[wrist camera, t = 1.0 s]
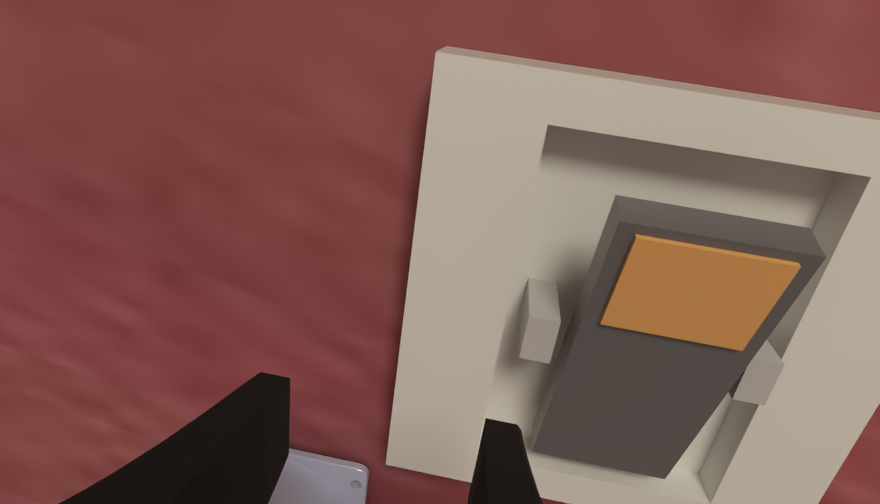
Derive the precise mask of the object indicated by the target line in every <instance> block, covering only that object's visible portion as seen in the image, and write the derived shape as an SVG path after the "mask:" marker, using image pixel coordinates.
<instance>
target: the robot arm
mask: <svg viewBox="0 0 880 504" xmlns="http://www.w3.org/2000/svg"><path fill="white" fill-rule="evenodd" d="M289 413H290V378H287V377H282V376H277V375H272V374H267V373H262V372H260V373H259V374H257V375H256V376H254V377H253V378H251V379H250V380H249V381H247V382H246V383H244V384H243V385H242V386H240V387H239V388H238V389H236V390H235V391H233V392H232V393H231V394H229V395H228V396H227V397H225V398H224V399H223V400H221V401H220V402H218V403H217V404H216V405H214V406H213V407H211V408H210V409H209V410H207V411H206V412H205V413H203V414H202V415H200V416H199V417H197V418H196V419H195V420H193V421H192V422H190V423H189V424H187V425H186V426H184V427H183V428H182V429H180V430H179V431H177V432H176V433H174V434H173V435H171V436H170V437H169V438H167V439H166V440H164V441H163V442H161V443H160V444H158V445H157V446H155V447H153V448H152V449H150V450H149V451H147V452H146V453H144V454H142V455H141V456H139V457H138V458H136V459H135V460H133V461H131V462H130V463H128V464H127V465H125V466H124V467H122V468H120V469H119V470H117V471H116V472H114V473H112V474H111V475H109V476H107V477H106V478H104V479H102V480H100V481H99V482H97V483H95V484H94V485H92V486H90V487H88V488H87V489H85V490H83V491H81V492H80V493H78V494H76V495H74V496H72V497H70V498H69V499H67V500H65V501H63V502H61V503H59V504H366V499H367V490H368V480H369V470H368V468H367V467H366V466H364V465H363V464H360V463H356V462H351V461H346V460H342V459H337V458H332V457H328V456H323V455H318V454H314V453H309V452H304V451H300V450H295V449H290V448H289ZM357 481H358V482H357ZM468 504H543V503H542V501H541V498H540V495H539V492H538V489H537V486H536V483H535V480H534V477H533V473H532V470H531V467H530V464H529V460H528V457H527V453H526V449H525V445H524V441H523V436H522V430H521V429H520V428H519V426H518V425H517V424H512V423H508V422H503V421H498V420H493V419H488V418H486V419H485V423H484V428H483V432H482V437H481V442H480V446H479V451H478V455H477V460H476V464H475V469H474V474H473V478H472V483H471V487H470V492H469V498H468Z"/></svg>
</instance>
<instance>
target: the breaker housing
mask: <svg viewBox="0 0 880 504" xmlns="http://www.w3.org/2000/svg"><path fill="white" fill-rule="evenodd" d="M615 195H619V196H625V197H631V198H637V199H643V200H649V201H655V202H660V203H666V204H672V205H678V206H684V207H690V208H696V209H702V210H707V211H713V212H719V213H725V214H731V215H737V216H743V217H748V218H754V219H760V220H766V221H772V222H778V223H784V224H789V225H795V226H801V227H807V228H810V230H811V231H812V233H813V235H814V236H815V238H816V240H817V242H818V243H819V245H820V247H821V249H822V250H823V252H824V254H825V255H826V259H825V260H824V262H823V263H822V264H821V266H820V267H819V268H818V270H817V271H816V273H815V274H814V275H813V277H812V278H811V279H810V281H809V282H808V284H807V285H806V286H805V288H804V289H803V290H802V292H801V293H800V295H799V296H798V297H797V299H796V300H795V301H794V303H793V304H792V305H791V307H790V308H789V310H788V311H787V312H786V314H785V315H784V316H783V318H782V319H781V321H780V322H779V323H778V325H777V326H776V327H775V329H774V330H773V332H772V333H771V334H770V336H769V337H768V338H767V340H766V341H765V343H764V344H763V345H762V347H761V348H760V349H759V351H758V352H757V354H756V355H755V356H754V358H753V359H752V360H751V362H750V363H749V364H748V366H747V367H746V369H745V370H744V371H743V373H742V374H741V375H740V377H739V378H738V380H737V381H736V382H735V384H734V385H733V386H732V388H731V389H730V391H729V392H728V393H727V395H726V396H725V397H724V399H723V400H722V402H721V403H720V404H719V406H718V407H717V408H716V410H715V411H714V413H713V414H712V415H711V417H710V418H709V419H708V421H707V422H706V424H705V425H704V426H703V428H702V429H701V430H700V432H699V433H698V434H697V436H696V437H695V439H694V440H693V441H692V443H691V444H690V445H689V447H688V448H687V450H686V451H685V452H684V454H683V455H682V456H681V458H680V459H679V461H678V462H677V463H676V465H675V466H674V467H673V469H672V470H671V472H670V473H669V474H668V476H667V477H666V478H665V479H661V478H656V477H651V476H647V475H642V474H637V473H632V472H627V471H622V470H618V469H613V468H608V467H603V466H598V465H593V464H589V463H584V462H579V461H574V460H569V459H565V458H560V457H555V456H550V455H545V454H540V453H536V452H532V431H533V422H534V420H535V417H536V414H537V411H538V409H539V406H540V403H541V400H542V397H543V395H544V392H545V389H546V386H547V384H548V381H549V378H550V375H551V373H552V370H553V367H554V364H555V361H556V359H557V356H558V353H559V350H560V348H561V345H562V342H563V339H564V337H565V334H566V331H567V328H568V325H569V323H570V320H571V317H572V314H573V312H574V309H575V306H576V303H577V300H578V298H579V295H580V292H581V289H582V287H583V284H584V281H585V278H586V276H587V273H588V270H589V267H590V264H591V262H592V259H593V256H594V253H595V251H596V248H597V245H598V242H599V240H600V237H601V234H602V231H603V228H604V226H605V223H606V220H607V217H608V215H609V212H610V209H611V206H612V204H613V201H614V198H615ZM879 403H880V113H878V112H871V111H865V110H859V109H852V108H846V107H839V106H833V105H826V104H820V103H813V102H807V101H800V100H794V99H787V98H781V97H774V96H768V95H761V94H755V93H748V92H742V91H735V90H729V89H722V88H716V87H709V86H703V85H696V84H690V83H683V82H677V81H670V80H664V79H657V78H651V77H644V76H638V75H631V74H625V73H618V72H612V71H605V70H599V69H592V68H586V67H579V66H573V65H566V64H560V63H554V62H547V61H541V60H534V59H528V58H521V57H515V56H508V55H502V54H495V53H489V52H482V51H476V50H469V49H463V48H456V47H450V46H446V47H444V48H442V49H440V50H438V51H436V55H435V63H434V71H433V79H432V87H431V96H430V104H429V112H428V120H427V128H426V137H425V145H424V153H423V161H422V170H421V178H420V186H419V194H418V202H417V211H416V219H415V227H414V235H413V243H412V252H411V260H410V268H409V276H408V285H407V293H406V301H405V309H404V317H403V326H402V334H401V342H400V350H399V358H398V367H397V375H396V383H395V391H394V399H393V408H392V416H391V424H390V432H389V441H388V449H387V457H386V465H390V466H395V467H400V468H404V469H409V470H414V471H419V472H423V473H428V474H433V475H437V476H442V477H447V478H451V479H456V480H461V481H465V482H470V483H472V478H473V474H474V469H475V464H476V460H477V455H478V451H479V446H480V442H481V437H482V432H483V428H484V423H485V419H486V418H488V419H493V420H498V421H503V422H508V423H512V424H517V425H518V426H519V428H520V429H521V430H522V436H523V441H524V445H525V449H526V453H527V457H528V460H529V464H530V467H531V470H532V473H533V477H534V480H535V483H536V486H537V489H538V492H539V495H540V497H541V498H545V499H550V500H555V501H559V502H564V503H569V504H818V503H819V501H820V499H821V498H822V496H823V495H824V493H825V491H826V490H827V488H828V486H829V485H830V483H831V481H832V480H833V478H834V477H835V475H836V473H837V472H838V470H839V468H840V467H841V465H842V464H843V462H844V460H845V459H846V457H847V455H848V454H849V452H850V450H851V449H852V447H853V446H854V444H855V442H856V441H857V439H858V437H859V436H860V434H861V433H862V431H863V429H864V428H865V426H866V424H867V423H868V421H869V419H870V418H871V416H872V415H873V413H874V411H875V410H876V408H877V406H878V405H879Z"/></svg>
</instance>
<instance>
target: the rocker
mask: <svg viewBox="0 0 880 504" xmlns="http://www.w3.org/2000/svg"><path fill="white" fill-rule="evenodd" d="M825 259H826V255H825V254H824V252H823V250H822V249H821V247H820V245H819V243H818V242H817V240H816V238H815V236H814V235H813V233H812V231H811V230H810V228H807V227H801V226H795V225H789V224H784V223H778V222H772V221H766V220H760V219H754V218H748V217H743V216H737V215H731V214H725V213H719V212H713V211H707V210H702V209H696V208H690V207H684V206H678V205H672V204H666V203H660V202H655V201H649V200H643V199H637V198H631V197H625V196H619V195H615V198H614V201H613V204H612V206H611V209H610V212H609V215H608V217H607V220H606V223H605V226H604V228H603V231H602V234H601V237H600V240H599V242H598V245H597V248H596V251H595V253H594V256H593V259H592V262H591V264H590V267H589V270H588V273H587V276H586V278H585V281H584V284H583V287H582V289H581V292H580V295H579V298H578V300H577V303H576V306H575V309H574V312H573V314H572V317H571V320H570V323H569V325H568V328H567V331H566V334H565V337H564V339H563V342H562V345H561V348H560V350H559V353H558V356H557V359H556V361H555V364H554V367H553V370H552V373H551V375H550V378H549V381H548V384H547V386H546V389H545V392H544V395H543V397H542V400H541V403H540V406H539V409H538V411H537V414H536V417H535V420H534V422H533V431H532V452H536V453H540V454H545V455H550V456H555V457H560V458H565V459H569V460H574V461H579V462H584V463H589V464H593V465H598V466H603V467H608V468H613V469H618V470H622V471H627V472H632V473H637V474H642V475H647V476H651V477H656V478H661V479H665V478H666V477H667V476H668V474H669V473H670V472H671V470H672V469H673V467H674V466H675V465H676V463H677V462H678V461H679V459H680V458H681V456H682V455H683V454H684V452H685V451H686V450H687V448H688V447H689V445H690V444H691V443H692V441H693V440H694V439H695V437H696V436H697V434H698V433H699V432H700V430H701V429H702V428H703V426H704V425H705V424H706V422H707V421H708V419H709V418H710V417H711V415H712V414H713V413H714V411H715V410H716V408H717V407H718V406H719V404H720V403H721V402H722V400H723V399H724V397H725V396H726V395H727V393H728V392H729V391H730V389H731V388H732V386H733V385H734V384H735V382H736V381H737V380H738V378H739V377H740V375H741V374H742V373H743V371H744V370H745V369H746V367H747V366H748V364H749V363H750V362H751V360H752V359H753V358H754V356H755V355H756V354H757V352H758V351H759V349H760V348H761V347H762V345H763V344H764V343H765V341H766V340H767V338H768V337H769V336H770V334H771V333H772V332H773V330H774V329H775V327H776V326H777V325H778V323H779V322H780V321H781V319H782V318H783V316H784V315H785V314H786V312H787V311H788V310H789V308H790V307H791V305H792V304H793V303H794V301H795V300H796V299H797V297H798V296H799V295H800V293H801V292H802V290H803V289H804V288H805V286H806V285H807V284H808V282H809V281H810V279H811V278H812V277H813V275H814V274H815V273H816V271H817V270H818V268H819V267H820V266H821V264H822V263H823V262H824V260H825Z"/></svg>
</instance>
